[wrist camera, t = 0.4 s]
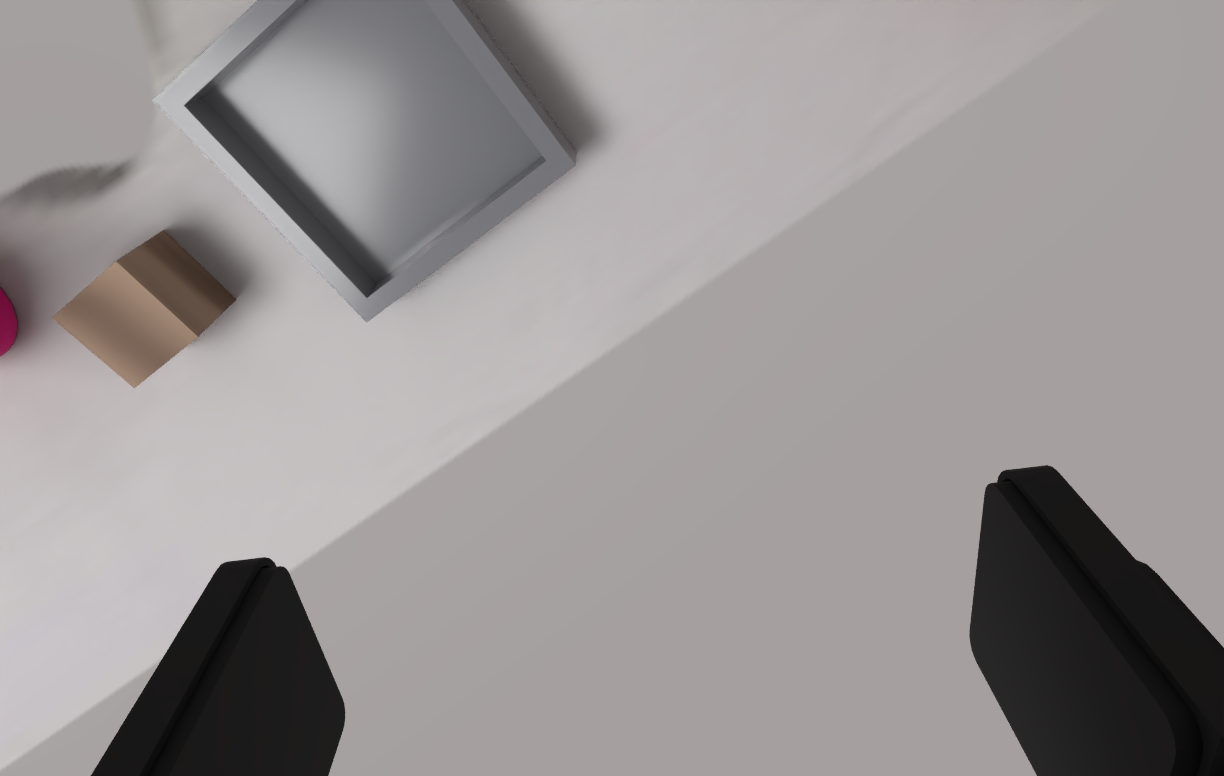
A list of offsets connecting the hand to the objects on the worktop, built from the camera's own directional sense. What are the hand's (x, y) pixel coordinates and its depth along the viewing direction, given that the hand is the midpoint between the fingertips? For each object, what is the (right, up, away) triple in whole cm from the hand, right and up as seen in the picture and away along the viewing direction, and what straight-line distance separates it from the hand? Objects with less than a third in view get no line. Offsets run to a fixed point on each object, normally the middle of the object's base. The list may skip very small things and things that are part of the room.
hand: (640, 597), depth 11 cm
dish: (-12, +16, +30) cm, 36 cm away
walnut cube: (-25, +8, +34) cm, 43 cm away
